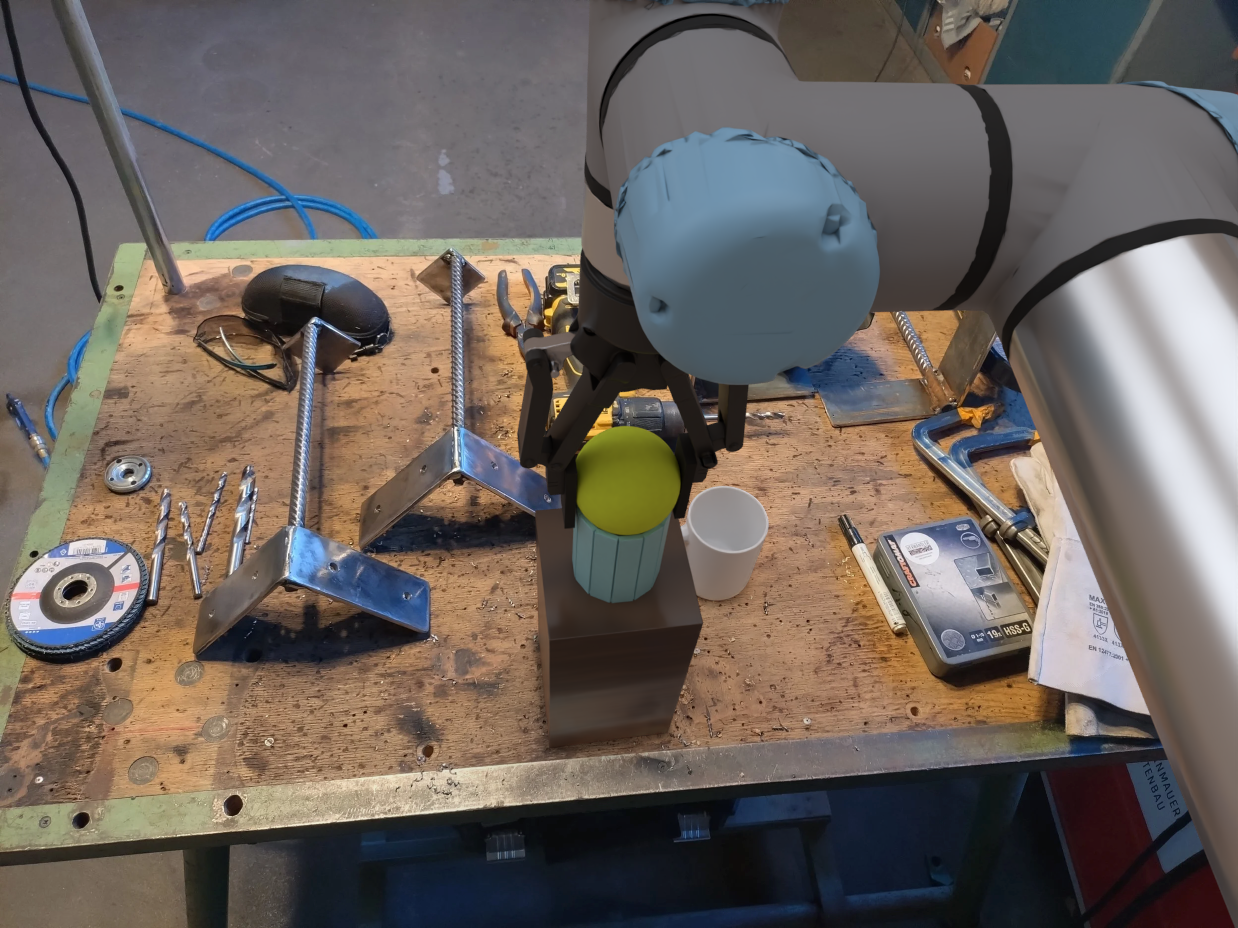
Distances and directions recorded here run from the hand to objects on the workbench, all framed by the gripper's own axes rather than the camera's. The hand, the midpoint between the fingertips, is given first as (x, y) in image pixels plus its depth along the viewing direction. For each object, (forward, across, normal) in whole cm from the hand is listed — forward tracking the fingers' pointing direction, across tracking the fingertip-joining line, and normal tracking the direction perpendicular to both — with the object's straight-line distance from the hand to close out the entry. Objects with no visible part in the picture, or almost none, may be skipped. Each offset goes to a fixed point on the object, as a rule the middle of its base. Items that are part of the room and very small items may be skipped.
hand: (622, 507), depth 59 cm
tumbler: (+8, 0, 0) cm, 8 cm away
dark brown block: (+32, 0, 0) cm, 32 cm away
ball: (0, 0, 0) cm, 0 cm away
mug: (+32, -13, -12) cm, 37 cm away
